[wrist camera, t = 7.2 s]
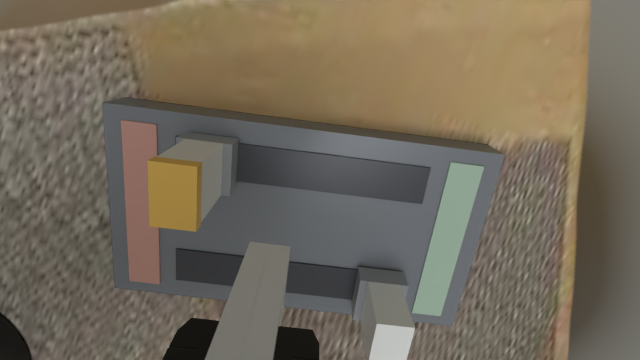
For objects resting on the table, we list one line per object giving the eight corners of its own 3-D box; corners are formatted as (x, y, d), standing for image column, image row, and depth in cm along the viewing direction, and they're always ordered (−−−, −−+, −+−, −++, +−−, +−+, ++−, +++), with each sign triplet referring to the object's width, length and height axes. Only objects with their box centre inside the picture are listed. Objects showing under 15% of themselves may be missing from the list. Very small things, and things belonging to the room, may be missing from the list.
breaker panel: (133, 267, 32) (60, 349, 23) (125, 97, 27) (28, 119, 18) (441, 302, 33) (484, 394, 24) (487, 144, 28) (562, 186, 19)
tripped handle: (185, 181, 26) (139, 225, 19) (186, 130, 25) (136, 159, 18) (235, 187, 26) (206, 233, 20) (238, 137, 25) (208, 168, 18)
